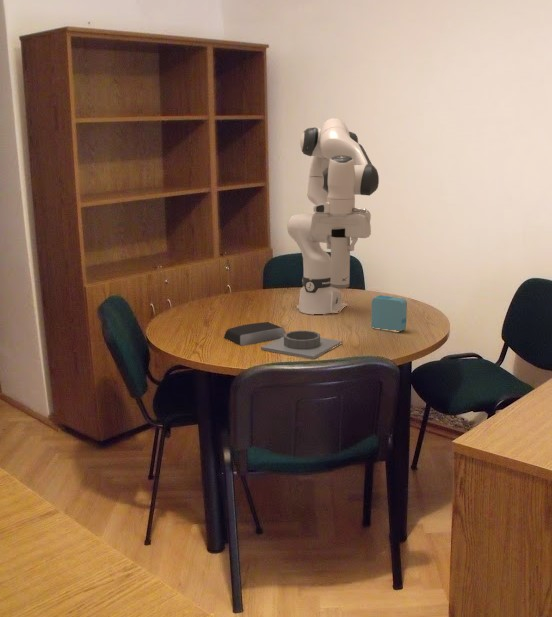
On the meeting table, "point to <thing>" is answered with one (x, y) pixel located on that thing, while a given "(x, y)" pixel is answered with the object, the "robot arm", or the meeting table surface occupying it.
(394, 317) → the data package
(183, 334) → the meeting table surface
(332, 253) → the travel mug
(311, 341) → the mug holder
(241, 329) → the external hard drive
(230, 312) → the meeting table surface
